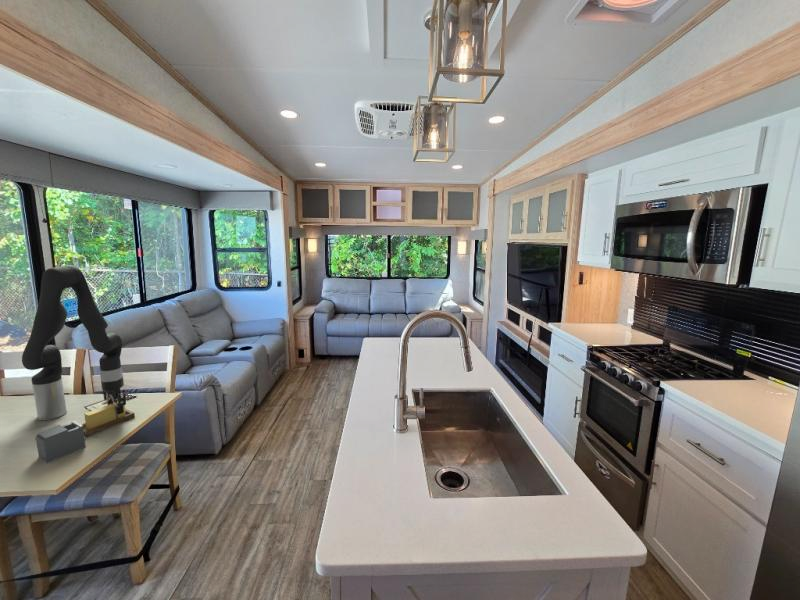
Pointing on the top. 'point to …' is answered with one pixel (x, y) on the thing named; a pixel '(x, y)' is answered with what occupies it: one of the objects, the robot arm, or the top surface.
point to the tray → (108, 424)
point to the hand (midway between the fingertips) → (116, 411)
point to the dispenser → (60, 441)
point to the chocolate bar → (105, 403)
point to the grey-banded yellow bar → (102, 415)
